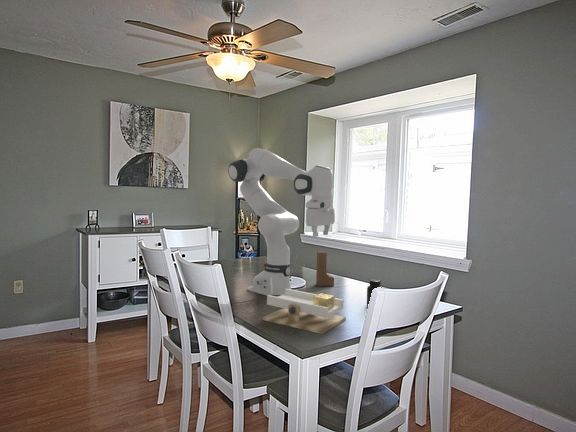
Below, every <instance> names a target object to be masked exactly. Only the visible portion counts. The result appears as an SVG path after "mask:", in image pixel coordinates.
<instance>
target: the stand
mask: <svg viewBox="0 0 576 432" xmlns="http://www.w3.org/2000/svg"><path fill="white" fill-rule="evenodd" d="M299 310H300V306H297V305H292V304H290V305H288V309H285V308H280V309H279V310H275V311H273V312H272V313H269V314H267V315H265V316H262V317H261V318H262V320H263V321H266V322H270V323H273V324H274V323H275V324H278V325H282V326H285V327H290V328H295V329H299V330H304V331H308V332H312V333H316V334H320V335H324V334H325V333H327V332H328V331H330V330H331V329H333V328H335V327H336V326H338V325H339V324H341V323H343V322H344V321H346V320H347V319H346V318H347V317H346V316H341V315H338V314H333V315H331V316H329V317H327V318H324V317H320V316H316V315H311V314H307V313H302V312H299Z"/></svg>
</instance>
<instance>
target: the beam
mask: <svg viewBox="0 0 576 432" xmlns="http://www.w3.org/2000/svg"><path fill="white" fill-rule="evenodd" d="M315 295H318V293H317V294H316V293H311V292H308V291H307V292H305V291H302V290H295V289H292V288H291V289H285V294H283V295H268V296H266V305H269V306H272V307H277V308H280V309H283V308H285V309H288V305H290V304H292V305H297V306H300V310H299V312H302V313H307V314H311V315H316V316H320V317H324V318H327V317H329V316H331V315H335V314H336V313H338V312H340V311H342V310H343V309H344V299H342V298H337V297H335V299H334V307H332V308H330V309H328V307H323V306H319V305H314V304H313V296H315Z"/></svg>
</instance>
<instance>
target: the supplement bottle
mask: <svg viewBox="0 0 576 432" xmlns="http://www.w3.org/2000/svg"><path fill="white" fill-rule="evenodd" d="M381 282H382V281H381V280H380V279H377V278H376V279H375V278H372V279H369V282H368V284H369V285H367V288H366V307H367V308H368V304H369V301H370V297H371V293H372V290H373V289H374V288H377V287H381V288H383V287H382V283H381Z"/></svg>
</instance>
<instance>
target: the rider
mask: <svg viewBox="0 0 576 432" xmlns="http://www.w3.org/2000/svg"><path fill="white" fill-rule="evenodd" d="M335 298H336V297H335V295H331V294H327V293H317V295H315V296H313V304H314V305H319V306H323V307H328V309H330V308H332V307H334V299H335Z"/></svg>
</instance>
